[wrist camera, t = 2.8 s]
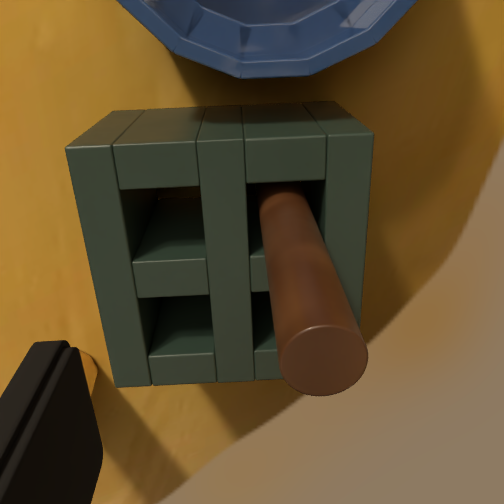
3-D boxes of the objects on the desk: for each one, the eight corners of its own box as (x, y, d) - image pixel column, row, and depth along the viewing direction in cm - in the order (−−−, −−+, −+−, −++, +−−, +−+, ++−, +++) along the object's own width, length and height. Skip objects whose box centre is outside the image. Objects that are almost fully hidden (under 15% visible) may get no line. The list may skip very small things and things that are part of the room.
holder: (335, 100, 22) (374, 132, 16) (328, 292, 27) (357, 376, 21) (111, 110, 22) (63, 146, 16) (142, 301, 27) (114, 388, 20)
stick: (291, 146, 23) (372, 323, 10) (291, 183, 24) (365, 394, 11) (252, 148, 23) (278, 328, 10) (253, 185, 24) (279, 399, 10)
